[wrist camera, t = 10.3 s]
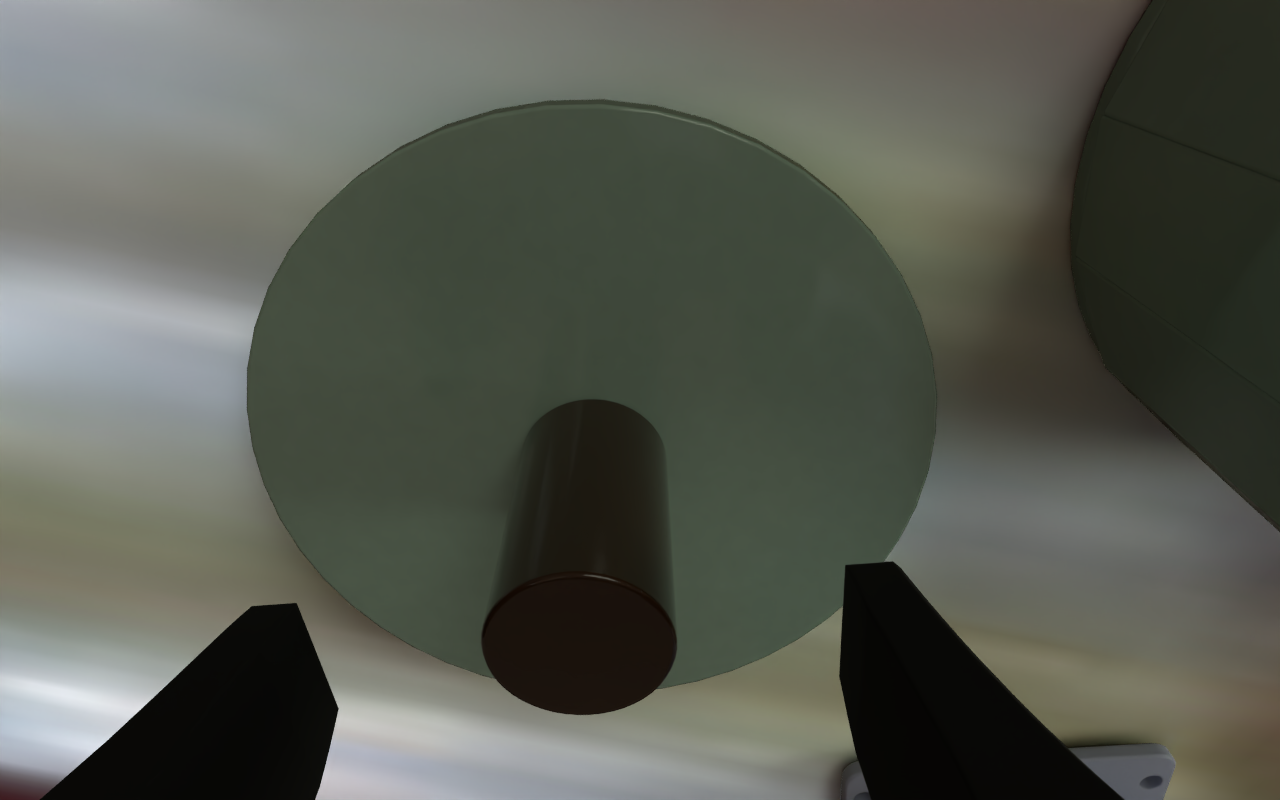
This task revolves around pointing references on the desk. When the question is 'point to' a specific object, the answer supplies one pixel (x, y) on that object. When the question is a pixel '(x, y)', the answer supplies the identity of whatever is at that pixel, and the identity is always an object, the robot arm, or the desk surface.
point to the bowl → (1191, 233)
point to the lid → (590, 398)
